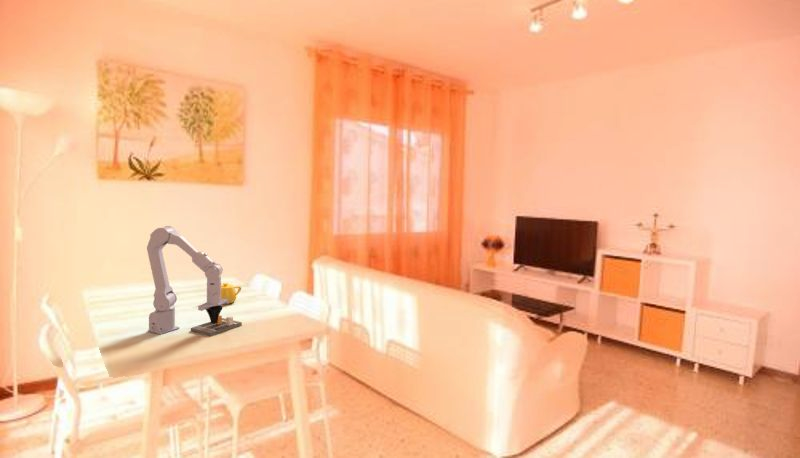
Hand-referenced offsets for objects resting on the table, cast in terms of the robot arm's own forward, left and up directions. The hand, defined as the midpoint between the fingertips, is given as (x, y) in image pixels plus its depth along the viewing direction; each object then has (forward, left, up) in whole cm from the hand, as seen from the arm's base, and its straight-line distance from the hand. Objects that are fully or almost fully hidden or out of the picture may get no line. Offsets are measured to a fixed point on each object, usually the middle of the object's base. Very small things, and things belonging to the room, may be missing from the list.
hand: (213, 323), depth 191 cm
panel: (+2, 0, -3) cm, 3 cm away
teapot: (+34, +30, -3) cm, 45 cm away
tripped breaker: (+2, 0, -1) cm, 3 cm away
